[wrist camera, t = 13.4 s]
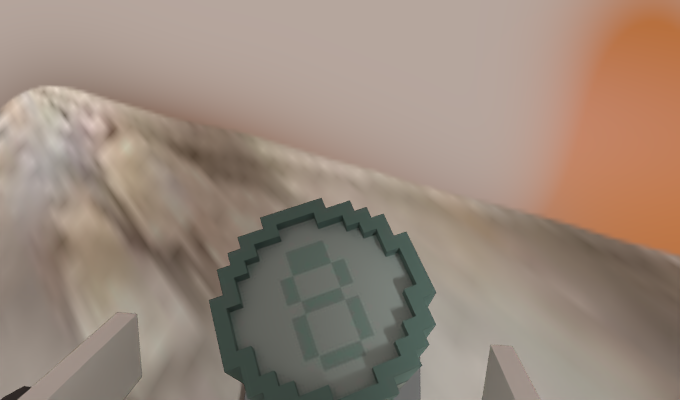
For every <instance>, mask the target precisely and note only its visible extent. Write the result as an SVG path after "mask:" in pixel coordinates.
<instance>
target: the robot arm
mask: <svg viewBox="0 0 680 400" xmlns="http://www.w3.org/2000/svg"><path fill="white" fill-rule="evenodd" d="M141 377H142V369H141V357H140V344H139V332H138V320H137V314H132V313H121V312H117V313H116V314H115V315H114V316H113V317H111V318H110V319H109V320H108V321H107V322H106V323H105V324H103V325H102V326H101V327H100V328H99V329H98V330H97V331H95V332H94V333H93V334H92V335H91V336H90V337H89V338H87V339H86V340H85V341H84V342H83V343H82V344H81V345H79V346H78V347H77V348H76V349H75V350H74V351H73V352H71V353H70V354H69V355H68V356H67V357H66V358H65V359H63V360H62V361H61V362H60V363H59V364H58V365H57V366H55V367H54V368H53V369H52V370H51V371H50V372H49V373H47V374H46V375H45V376H44V377H43V378H42V379H41V380H39V381H38V382H37V383H36V384H35V385H34V386H33V387H26V386H23V387H22V388H20V389H18V390H16V391H14V392H12V393H11V394H9V395H7V396H5V397H3V398H2V399H1V400H124V399H125V397H126V396H127V395H128V394H129V392H130V391H131V390H132V389H133V387H134V386H135V385H136V384H137V382H138V381H139V380H140V379H141ZM482 400H541V399H540V397H539V395H538V394H537V392H536V390H535V388H534V386H533V384H532V382H531V380H530V378H529V377H528V375H527V373H526V371H525V369H524V367H523V365H522V363H521V361H520V360H519V358H518V356H517V354H516V352H515V350H514V348H513V346H502V345H491V346H490V352H489V358H488V365H487V371H486V378H485V384H484V390H483V397H482Z"/></svg>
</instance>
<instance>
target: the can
mask: <svg viewBox="0 0 680 400" xmlns="http://www.w3.org/2000/svg"><path fill="white" fill-rule="evenodd" d="M260 219H261V223H262V226H263V229H261V230H258V231H255V232H252V233H249V234H246V235H243V236H240V237H238V241H239V244H240V248H241V249H239V250H236V251H233V252H230V253H228V257H229V261H230V266H227V267H224V268H221V269H218V270H217V272H218V276H219V281H220V285H221V289H222V293H223V295H222V296H219V297H217V298H214V299H211V300H209V303H210V308H211V312H212V317H213V322H214V326H215V331H216V335H217V340H218V344H219V349H220V354H221V358H222V363H223V367H224V372H225V373H227V374H228V375H230V376H232V377H233V378H235V379H237V380H238V381H240V382H242V383H243V384H244V386H245V390H246V395H247V399H250V400H393V399H394V398H395V397H396V396H397V395H398V394H399V393H400V392H399V389H400V388H401V387H402V386H403V385H404V384H405V383H406V382H407V381H408V380H409V379H410V378H411V377H412V376H413V374H414V373H415V372H416V371H417V370H418V369H419V368H420V367H421V366H422V364H421V362H420V360H419V357H420V355H421V354H422V353H423V352H424V350H425V349H426V348H427V347H428V346H429V343H428V341H427V339H426V338H427V336H428V335H429V334H430V332H431V331H432V330H433V328H434V327H435V326H436V323H435V321H434V319H433V317H432V315H431V313H430V311H429V309H428V306H429V304H430V302H431V300H432V299H433V297H434V295H435V294H436V291H435V289H434V287H433V285H432V283H431V281H430V279H429V277H428V275H427V273H426V271H425V269H424V267H423V265H422V263H421V261H420V259H419V257H418V255H417V252H416V250H415V248H414V246H413V244H412V242H411V240H410V238H409V236H408V234H407V232H403V233H401V234H398V235H395V236H394V235H393V233H392V231H391V229H390V226H389V224H388V222H387V220H386V218H385V216H384V214H381V215H378V216H375V217H372V218H371V216H370V214H369V211H368V209H367V207H365V208H362V209H359V210H356V211H354V209H353V207H352V204H351V202H350V201H347V202H344V203H341V204H337V205H334V206H331V207H328V208H325V205H324V203H323V200H322V198H320V199H317V200H313V201H310V202H307V203H304V204H301V205H298V206H295V207H292V208H289V209H286V210H283V211H279V212H276V213H273V214H270V215H267V216H264V217H261V218H260Z"/></svg>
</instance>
